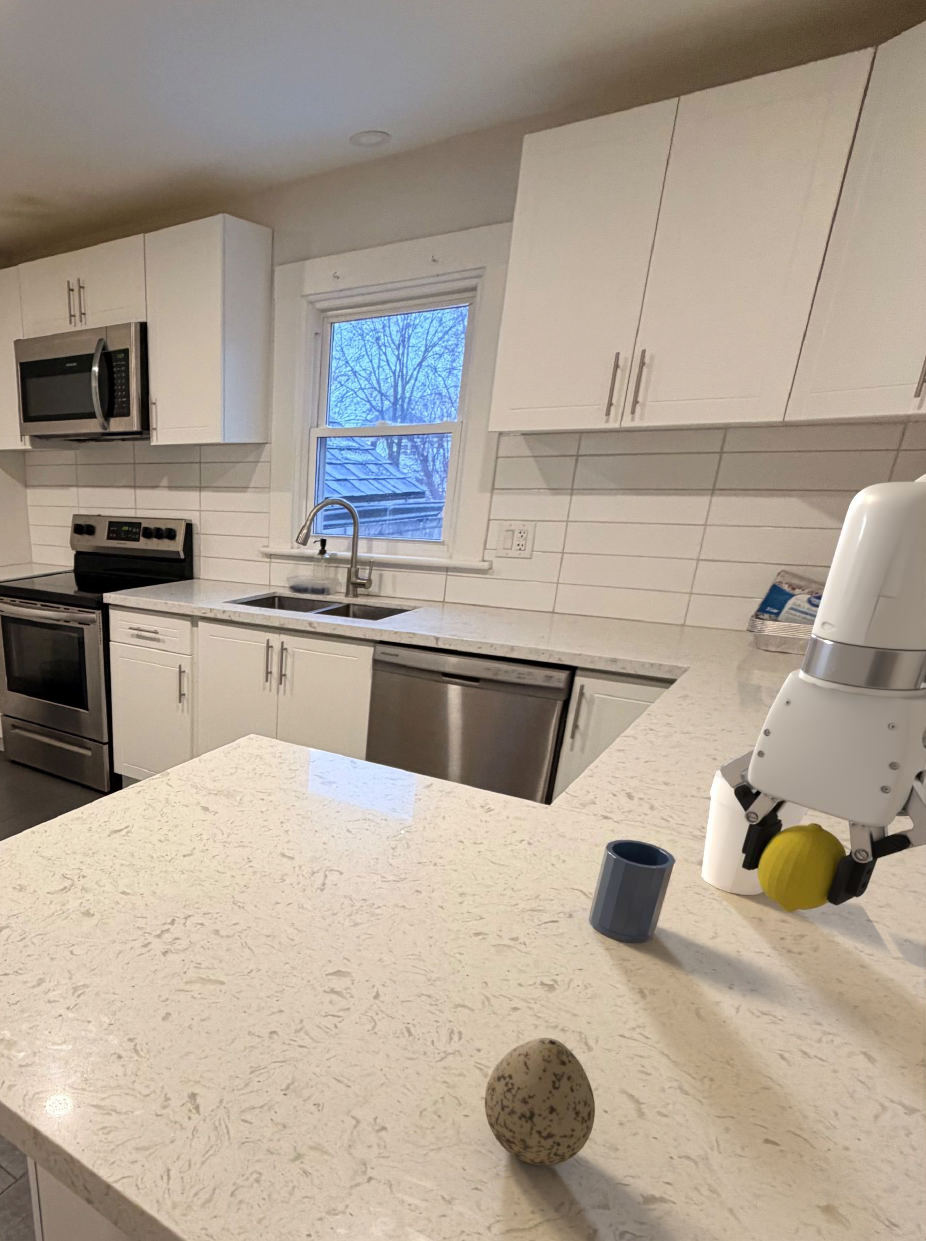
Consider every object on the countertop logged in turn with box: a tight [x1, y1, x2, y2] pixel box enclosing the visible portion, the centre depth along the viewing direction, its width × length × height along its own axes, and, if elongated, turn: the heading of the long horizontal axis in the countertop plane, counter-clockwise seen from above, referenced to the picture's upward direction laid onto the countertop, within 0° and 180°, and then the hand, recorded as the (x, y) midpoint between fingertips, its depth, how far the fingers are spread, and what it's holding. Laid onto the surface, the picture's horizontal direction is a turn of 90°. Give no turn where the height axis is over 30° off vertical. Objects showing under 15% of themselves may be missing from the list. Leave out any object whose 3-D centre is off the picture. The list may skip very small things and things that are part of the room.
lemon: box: [758, 822, 847, 913], centre depth 64 cm, size 6×6×8 cm
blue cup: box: [588, 839, 677, 944], centre depth 85 cm, size 6×6×9 cm
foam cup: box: [701, 769, 810, 896], centre depth 93 cm, size 10×9×13 cm
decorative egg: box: [484, 1037, 596, 1167], centre depth 57 cm, size 7×7×10 cm
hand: (797, 880), depth 64 cm, fingers closed on lemon, 5 cm apart
